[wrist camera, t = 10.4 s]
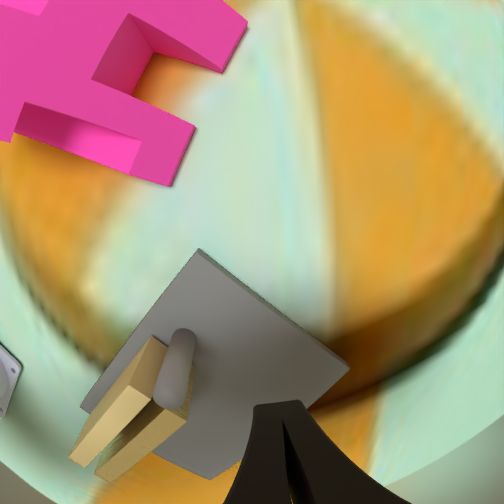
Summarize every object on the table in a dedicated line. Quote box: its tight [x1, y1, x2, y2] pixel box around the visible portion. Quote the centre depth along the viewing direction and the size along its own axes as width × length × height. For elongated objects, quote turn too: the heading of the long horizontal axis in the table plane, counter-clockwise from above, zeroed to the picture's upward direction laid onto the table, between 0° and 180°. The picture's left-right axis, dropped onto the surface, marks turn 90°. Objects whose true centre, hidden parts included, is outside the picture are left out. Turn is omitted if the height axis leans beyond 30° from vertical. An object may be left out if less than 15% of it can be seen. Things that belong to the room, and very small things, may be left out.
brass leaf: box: [94, 365, 196, 483], centre depth 15 cm, size 9×1×5 cm, turn 139°
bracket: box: [0, 0, 248, 186], centre depth 10 cm, size 12×10×10 cm
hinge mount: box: [68, 248, 350, 480], centre depth 16 cm, size 15×12×6 cm
